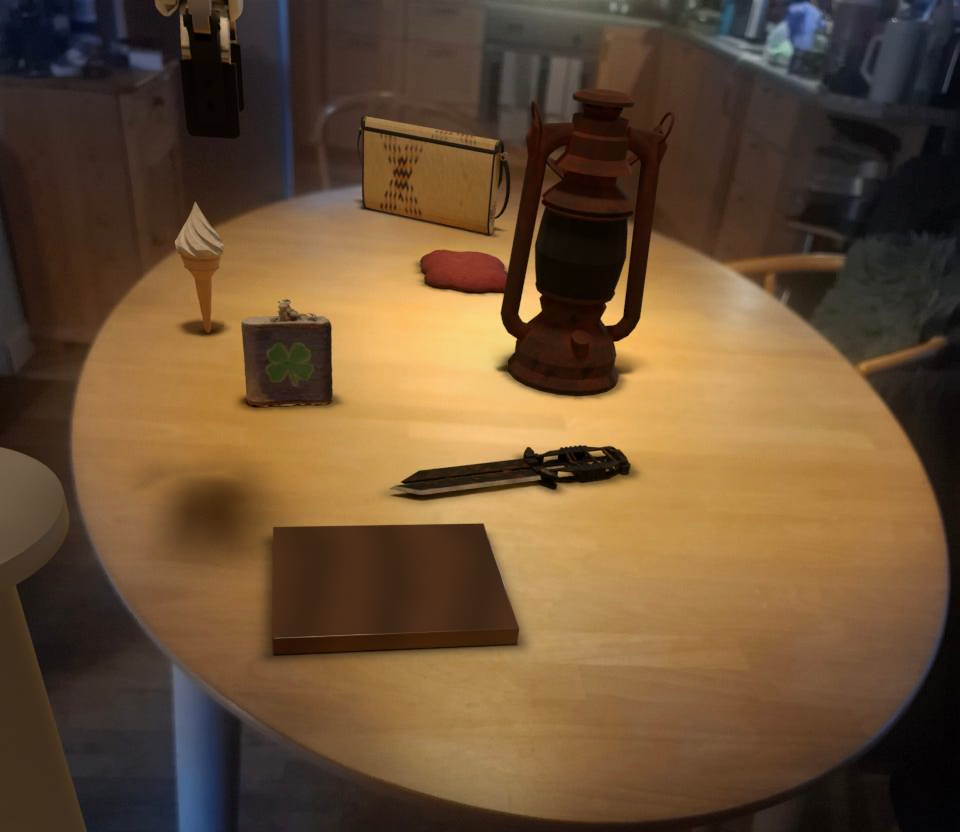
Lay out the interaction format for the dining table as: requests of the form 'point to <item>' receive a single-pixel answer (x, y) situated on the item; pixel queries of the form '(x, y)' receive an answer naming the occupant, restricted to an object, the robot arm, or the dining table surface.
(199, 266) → the ice cream cone
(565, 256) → the lantern
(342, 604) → the serving board
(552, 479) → the knife
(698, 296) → the dining table surface
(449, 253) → the patty
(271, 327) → the flask
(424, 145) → the clutch purse
